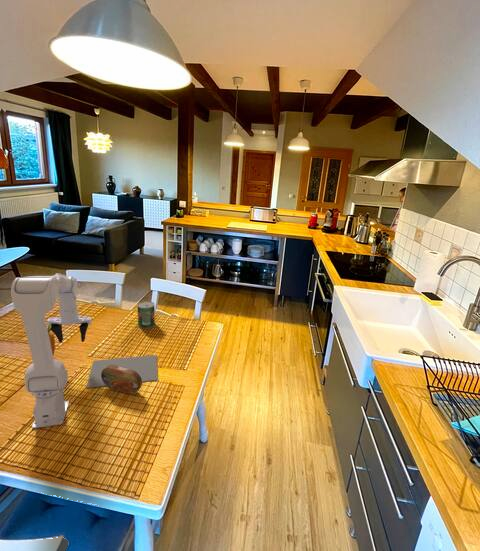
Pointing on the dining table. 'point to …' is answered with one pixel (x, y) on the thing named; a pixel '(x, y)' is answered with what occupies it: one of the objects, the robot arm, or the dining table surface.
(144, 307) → the canned tomato
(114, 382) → the tin
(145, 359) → the mat
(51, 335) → the carrot
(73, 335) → the dining table surface
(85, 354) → the dining table surface
